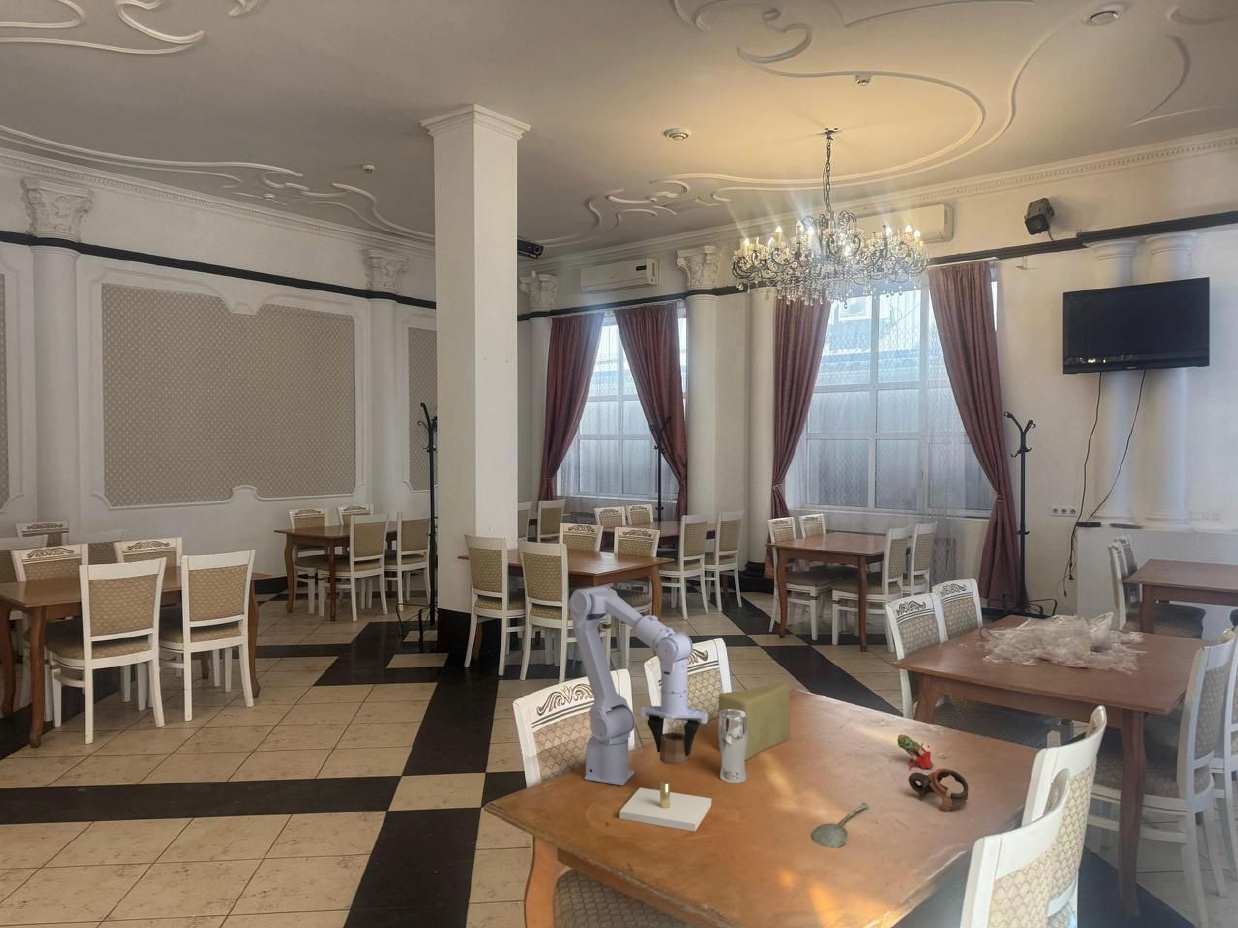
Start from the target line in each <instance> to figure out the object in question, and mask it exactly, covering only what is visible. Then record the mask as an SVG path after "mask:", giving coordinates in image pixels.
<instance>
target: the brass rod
mask: <svg viewBox="0 0 1238 928" xmlns="http://www.w3.org/2000/svg"><path fill="white" fill-rule="evenodd" d="M670 787H671V782H670V781H669V780H662V781H660V782H659V789H660V807H661V808H663V809H667V808H669V807H670V792H671V790H670V789H671V788H670Z"/></svg>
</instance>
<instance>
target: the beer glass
mask: <svg viewBox="0 0 1238 928" xmlns="http://www.w3.org/2000/svg"><path fill="white" fill-rule="evenodd" d="M718 714H719V722H718V723H717V724H718V725H717V737H718V739H717V740H718V747H719V746H720V750H719V752H720V759H721V761H720V762H721V765H720V772H719V778H720V780H721V781H722V782H726V783H729V784H741V783H743V782H745V781H746V780H747V775H746V768H745V767H746V766H745V761H746V760H745V754H746V749H747V743H748V714H747V713H746V712H744V711H742V710H736V709H726V710H722V711H720V712H719V711H718Z"/></svg>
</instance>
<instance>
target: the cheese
mask: <svg viewBox="0 0 1238 928" xmlns="http://www.w3.org/2000/svg"><path fill="white" fill-rule="evenodd" d="M789 687H790V686H789V684H788V683H785V682H774V683H771V684H769V685H764V686H759V687H756V688H752V689H747V690H742V691H731V692H723V693H719V695H718V722H719V712H720V711H722V710H726V709H736V710H742V711H744V712H746V713H747V714H748V743H747V749H746V754H745V761H747V760H749V759H751V758H752V757H755V756H756V755H757V754H760V753H761V752H763V751H765V750H767V749H770V748H771V747H775V746H777V745H779V744H783V742H786V741H788V740H790V738H791V718H792V717H791V702H790V701H791V700H790V699H791V698H790V688H789ZM718 749H719V751H720V746H719V745H718Z"/></svg>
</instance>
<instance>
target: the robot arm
mask: <svg viewBox="0 0 1238 928" xmlns="http://www.w3.org/2000/svg"><path fill="white" fill-rule="evenodd" d="M567 606H568V608H569V609H568V610H569V611H570V614H571V618H572V628H573V633H574V637H575V640H576V643H577V647H578V650H579V653H580V656H581V660H582V663H583V667H584V670H585V674H586V677H587V679H588V680H587V681H588V682H589V687H590V690H591V693H592V697H593V699H594V701H593V703H592V705H591V706H590V709H589V710H588V714H589V720H590V722H589V723H590V731H591V734H592V736H591V737H589V739H588V741H587V744H586V749H585V750H586V751H585V776H584V780H585V781H591V782H599V783H602V784H603V783H604V784H611V785H617V786H624V785H625V784H626V783H627V782H628V780H630V778H631V777H633V775H634V774H635V771H633V770H629V738H630V737H631V732H632V731H634V729H635V726H636V716H635V714H634V711H633V710H632V709H631V708H630V707H629V704H628V701H627V699H626V697H625V698H624V697H623V696H621V695H620V694H619V693H618V692H617V690H616V689H617V688H616V686H615V683H614V679H613V676H612V672H611V670H610V666H609V663H608V659H607V656H606V653H605V651H604V647H603V644H602V640H601V637H600V633H599V630H598V628H599V625H600V623H601V622H602V620H603V619H604V618H605V617H606V616H607V614H609V615H610V616H612V617H614V618H615V619H617V620H619V621H621V622H622V623H624V624H625V625H626V626H629V627H630V628H632V629H633V631H634V636H635V637H636V638H637V639H639V640H640V641H641V642H643V643H644V644H645V645H646V646H649V648H650V649H652V650H653V651H655V655H656V658H657V659H658V661H659V668H660V677H661V678H660V705H655V706H654V705H642V707H640V717H641V718H647V717H648V720H647V726H648V728H649V730H650V731H651V734H652V736H653V739H654V742H655V746H656V747H655V748H656V752H657V753H660V737H661V736H662V735H663V734H664V723H665V719H667V720H674V721H675V720H676V721H685V722H686V723H685V724H684V725H683V728H684V730H683V731H684V735H685V756H688V757H689V756H690V755H691V752H692V746H693V743H694V740H695V736H696V733H697V731H698V729H699V726H700V725H706V724H707V723H708V719H709V717H708V715H709V713H708V712H705V711H700V710H695V709H690V708H688V664H689V663H688V658H689V657H690V656H691V655H692V654H693V649H694V645H693V641H692V640H691V637H690V636H688V635H687V633H685V632H683V631H679V632H675V631H674V629H673V628H672V627H668V626H666V625H664V624H663V623H662V622H661V621H659V619H658V617H657V616H656V615H649V614H646V615H644V616H643V615H642V614H641V613H639V612H638V611H637V610H636V609H634V608H633V607H632V606H631V605H629V604H628V603H627V602H626V601H625V600H623V598H621V597H620V596H619V595H618V593H617V591H616V590H614V589H613V588H611V587H610V586H609V585H606V584H601V585H599V586H593V587H587V588H578V589H575V590H574V591H573V593H572V594H571V596H570V599H569V600H568V603H567ZM609 709H610V710H609ZM607 710H608V711H607Z"/></svg>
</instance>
